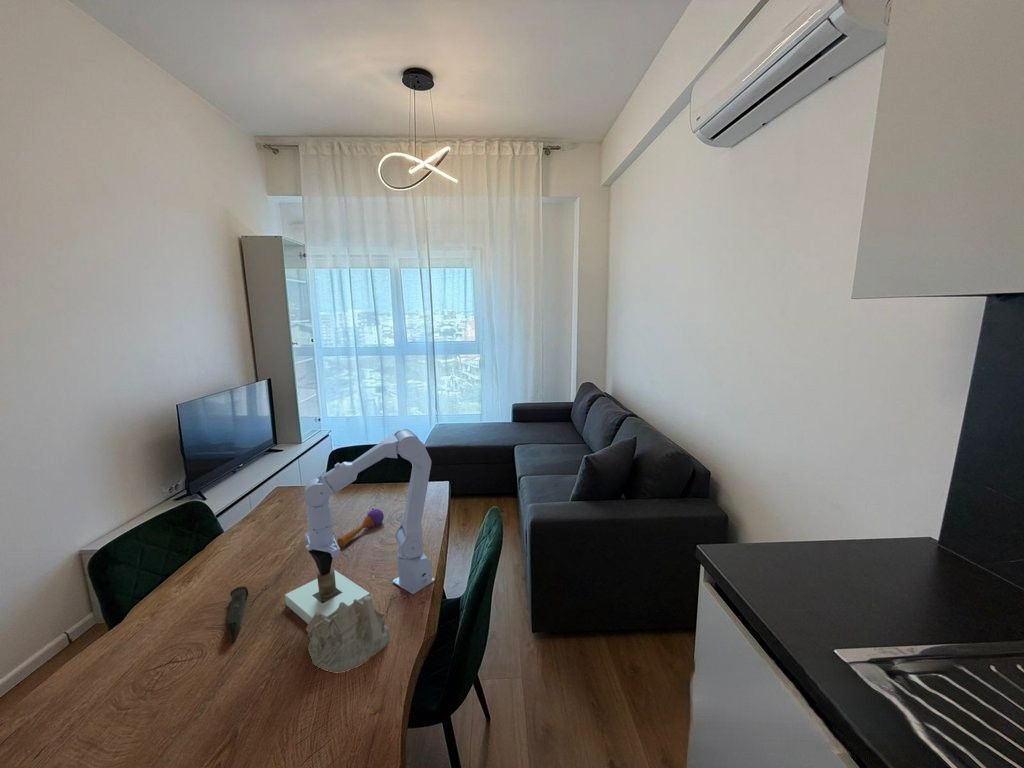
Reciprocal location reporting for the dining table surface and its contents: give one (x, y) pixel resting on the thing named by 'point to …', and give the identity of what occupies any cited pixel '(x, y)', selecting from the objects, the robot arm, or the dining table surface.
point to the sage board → (308, 597)
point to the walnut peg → (326, 586)
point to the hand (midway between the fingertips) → (325, 573)
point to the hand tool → (236, 611)
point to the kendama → (363, 526)
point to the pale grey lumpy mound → (347, 635)
